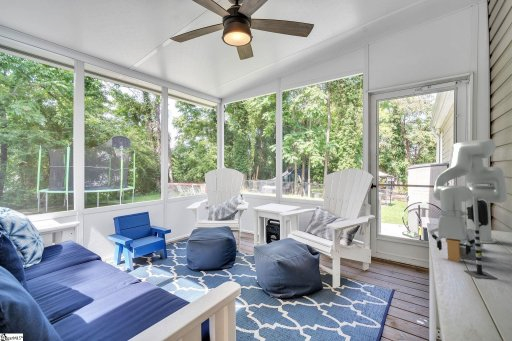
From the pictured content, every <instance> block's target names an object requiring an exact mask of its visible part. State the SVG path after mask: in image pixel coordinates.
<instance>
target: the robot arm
mask: <svg viewBox="0 0 512 341" xmlns="http://www.w3.org/2000/svg"><path fill="white" fill-rule="evenodd" d="M496 147H497V146H496V142H495V141H494V139H491V138H486V139H485V138H484V139H475V140H473V139H472V140H465V141H464V140H463V141H459V142H455V143H453V144H452V146H451V154H450V159H449V165H448V168H446V169H445V170H443V171H442V172H441V173H440V174H439V175H438V176H437V177H436V179H435V181H434V186H433V192H432V193H433V197H434V198H435V200H437V201H439V202H440V203H439V204H440V215H439V217H438V224H437V226H438V227H437V228H434V229H430V230H429V234H430V235H431V237H432V238H433V239H434V240H435V241H436V249H438V251H442V249H443V244H442V239H445V240H446V239H454V240H463V241H464V242H465V243H466V254H467V255H468V254H469V253H471V247H470V245H471V244H473V243H474V242H475V225H474V222H473V221H472V220H471V219H468V218H467V220H468V221H466V218H465V217H463V216H467V211H464V210H463V208H462V207H463V205H462V203H465V202H466V208H467V207H471V206H472V205H473V197H477V199H478V200H480V199H484V200H486V201H487V202H488V204H489V203H491V204H492V203H493V204H502V203H505V202H507V200H508V191H507V190H508V189H507V184H506V175H505V172H504V169H503V168H501V167H499V166H484V160H483V159H488V158H490V157H491V156H493V154H494V153H496V149H497V148H496ZM463 176H464V178H465V181H466V183H468V184H471V185H469V186H466V185H445V184H446V183H448V182H450V181H452V180H455V179H457V178H461V177H463ZM489 218H490V219H489V220H490V224H489V225H488V226H483V225H482V226H480V228H479V235H480V243H482V244H496V243H497V240H496V239H494V238H493V236H492V222H491V211H490V209H489ZM467 222H468V225H467ZM479 224H480V222H479ZM467 228H468V229H474V234H473V233H471V232H469V231H467ZM436 232H438V233H437V234H438V236H437V235H436V234H435V233H436ZM468 235H470V236H472V237H473V239H472V240H471V241H469V240H468V239H467V238H468Z"/></svg>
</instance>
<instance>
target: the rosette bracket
mask: <svg viewBox="0 0 512 341" xmlns="http://www.w3.org/2000/svg"><path fill="white" fill-rule="evenodd" d="M467 231H469V232H471V233H473V234H474V229H469V227H467ZM467 239H468V240H469V241H471V240H472V239H473V237H472V236H470V235H468V238H467ZM460 241H461V242H460V244H459V245H460V259H463V260H464V259H465V260H471V261H476V249H475V242H474V243H473V244H471V245H470V247H471V253H469V254H468V255H467V254H466V243H465V242H464V241H463V240H460ZM482 248H484V243H481V249H482Z"/></svg>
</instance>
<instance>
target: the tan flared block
mask: <svg viewBox="0 0 512 341" xmlns="http://www.w3.org/2000/svg"><path fill="white" fill-rule="evenodd" d="M460 242H461V241H460V240H454V239H446V238H445V243H446V244H447V246H446V247H447V248H446V249H447V260H448V261H451V262H452V261H453V262H457V263H459V262H461V258H460V245H459V244H460Z"/></svg>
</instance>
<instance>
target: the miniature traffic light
mask: <svg viewBox="0 0 512 341" xmlns="http://www.w3.org/2000/svg"><path fill="white" fill-rule="evenodd" d="M466 210H467V211H466V216H467V220H468V219H471V220H472V221H473V222H474V225H475V249H476V260H475V261H476V262H475V263H476V270H463V272H465V273H466V274H468V275H470V276H471V277H472V278H474V277H475V279H481V278H488V280H498V278H497V277H496V276H494V275H492V274H491V273H488V272H486V271H484V270H483V260H482V256H483V254H482V248H481V243H480V235H479V228H480V226H482V225H483V226H488V225H489V224H490V220H489V219H490V218H491V217H490V218H489V210H490V205H489V203H488V202H487V201H486V200H484V199H480V200H478V199H477V197H473V205H472V206H471V207H467V206H466ZM479 222H480V224H479Z"/></svg>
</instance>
